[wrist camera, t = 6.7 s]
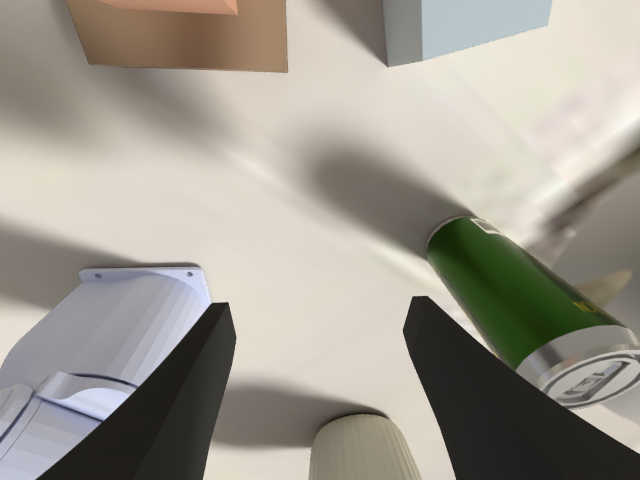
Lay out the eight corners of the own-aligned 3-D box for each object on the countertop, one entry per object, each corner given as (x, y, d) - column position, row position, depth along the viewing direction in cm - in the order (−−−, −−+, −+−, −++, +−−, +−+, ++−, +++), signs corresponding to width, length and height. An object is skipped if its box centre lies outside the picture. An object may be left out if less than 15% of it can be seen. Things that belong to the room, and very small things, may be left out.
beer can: (439, 207, 20) (587, 341, 9) (499, 217, 21) (694, 350, 10) (412, 262, 22) (506, 412, 12) (466, 269, 23) (595, 415, 13)
